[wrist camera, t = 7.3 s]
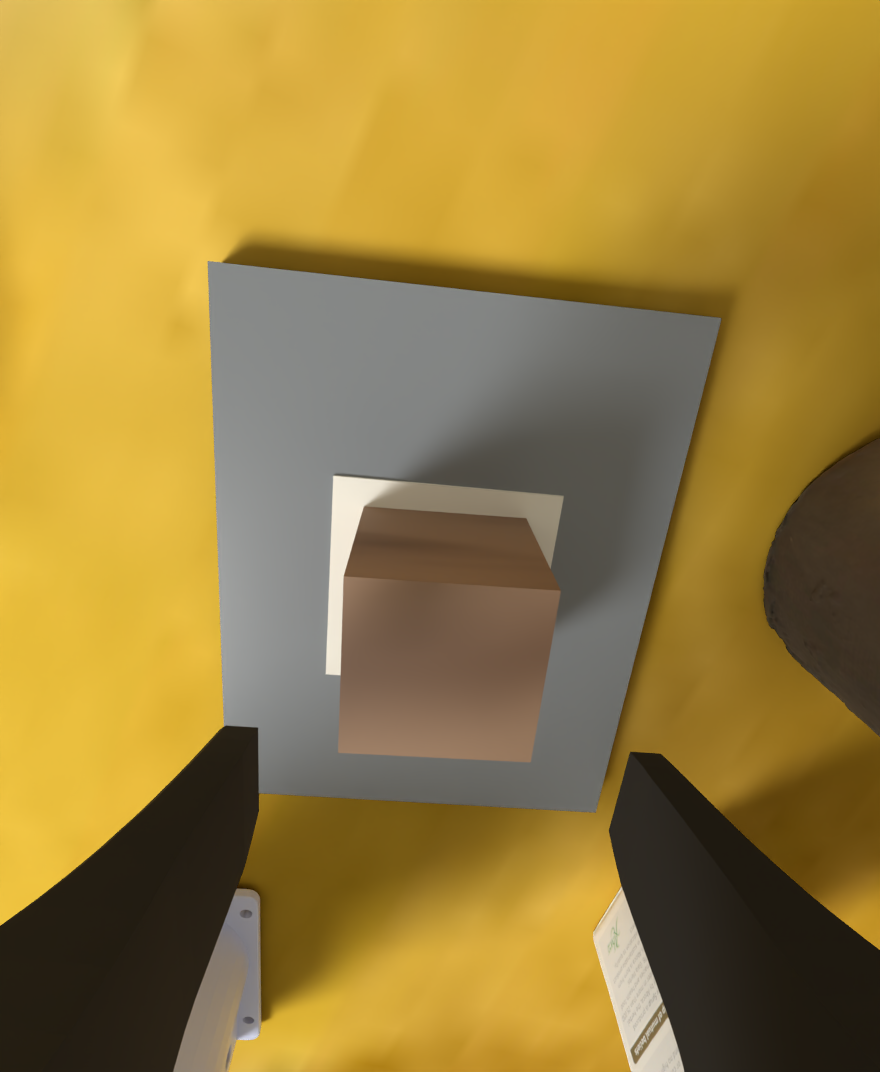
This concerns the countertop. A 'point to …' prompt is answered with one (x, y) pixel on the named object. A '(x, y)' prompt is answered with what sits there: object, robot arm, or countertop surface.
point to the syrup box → (635, 993)
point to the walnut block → (444, 636)
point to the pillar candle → (833, 581)
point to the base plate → (438, 499)
